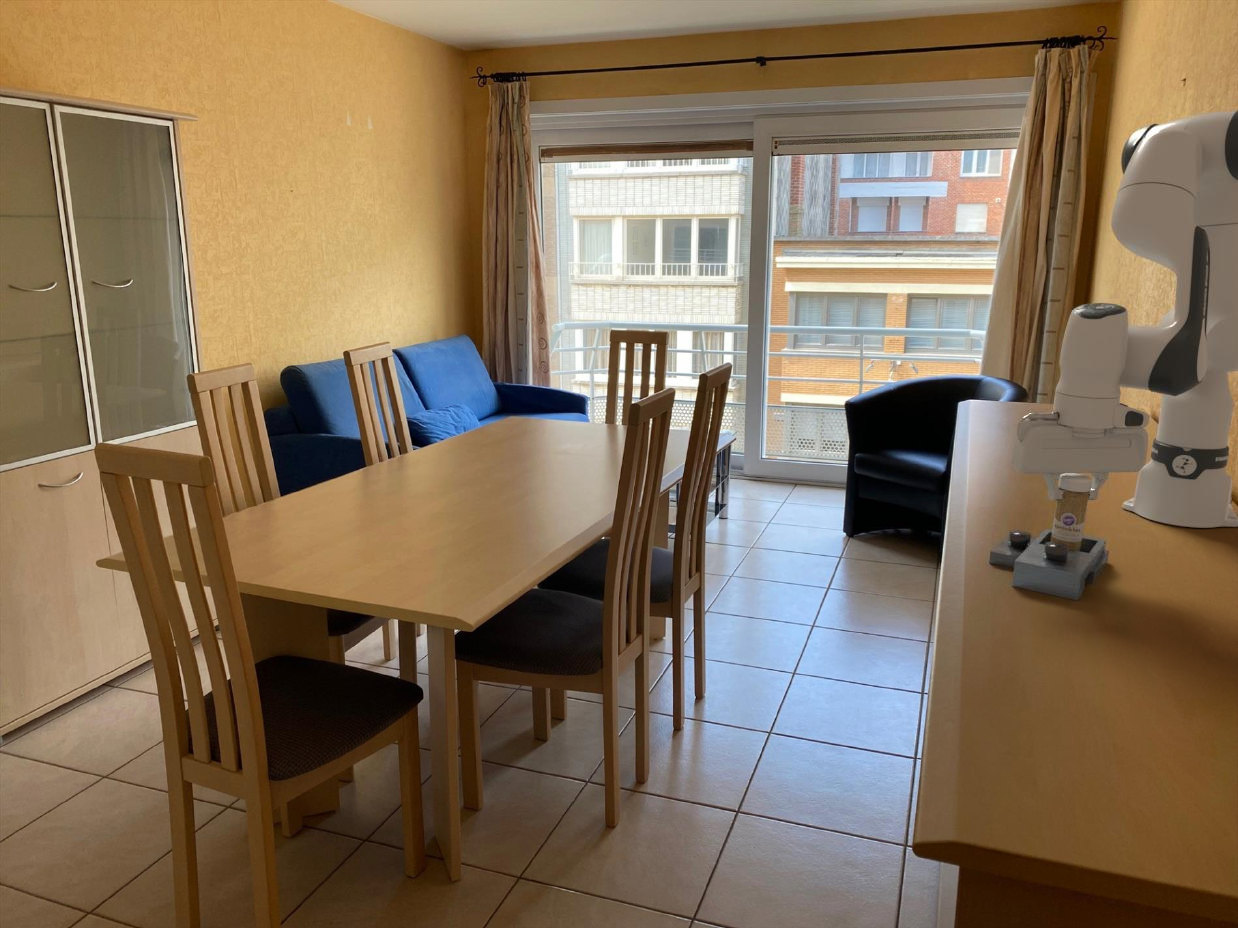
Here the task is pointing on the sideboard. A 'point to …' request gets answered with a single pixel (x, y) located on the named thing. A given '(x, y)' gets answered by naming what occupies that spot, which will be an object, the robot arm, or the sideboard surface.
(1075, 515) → the sprinkles bottle
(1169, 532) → the sideboard surface
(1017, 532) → the grey knobbed tray
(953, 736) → the sideboard surface
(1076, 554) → the grey box with knob
